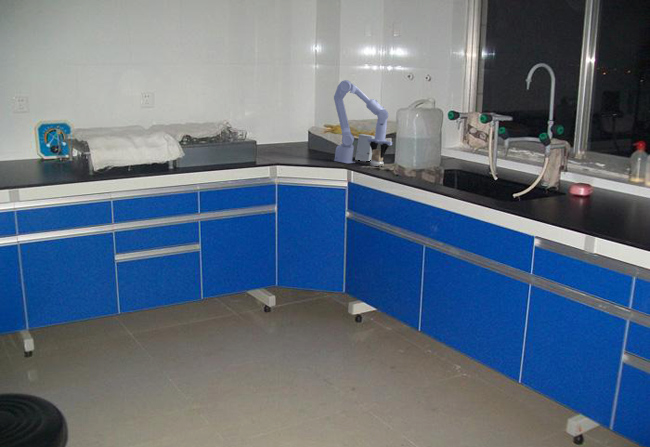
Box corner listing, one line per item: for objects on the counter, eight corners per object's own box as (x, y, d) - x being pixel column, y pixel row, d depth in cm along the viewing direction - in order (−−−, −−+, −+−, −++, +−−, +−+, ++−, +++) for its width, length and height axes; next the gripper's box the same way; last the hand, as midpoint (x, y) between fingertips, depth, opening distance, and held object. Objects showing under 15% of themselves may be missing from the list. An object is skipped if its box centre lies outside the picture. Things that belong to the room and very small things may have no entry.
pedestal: (367, 165, 372) (368, 160, 371) (375, 164, 377) (375, 160, 377) (378, 167, 368) (378, 162, 367) (385, 166, 373) (386, 162, 372)
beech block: (371, 159, 371) (372, 149, 370) (375, 159, 374) (376, 149, 373) (378, 161, 368) (379, 151, 367) (382, 160, 372) (383, 150, 371)
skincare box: (354, 160, 388) (357, 134, 384) (358, 159, 393) (361, 133, 390) (369, 162, 385) (372, 135, 382) (372, 161, 391) (375, 135, 387)
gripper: (365, 130, 369) (362, 155, 372) (388, 133, 361) (385, 159, 364) (372, 130, 375) (369, 154, 378) (395, 133, 367) (392, 158, 370)
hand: (377, 156), depth 371 cm, fingers closed on beech block, 4 cm apart
